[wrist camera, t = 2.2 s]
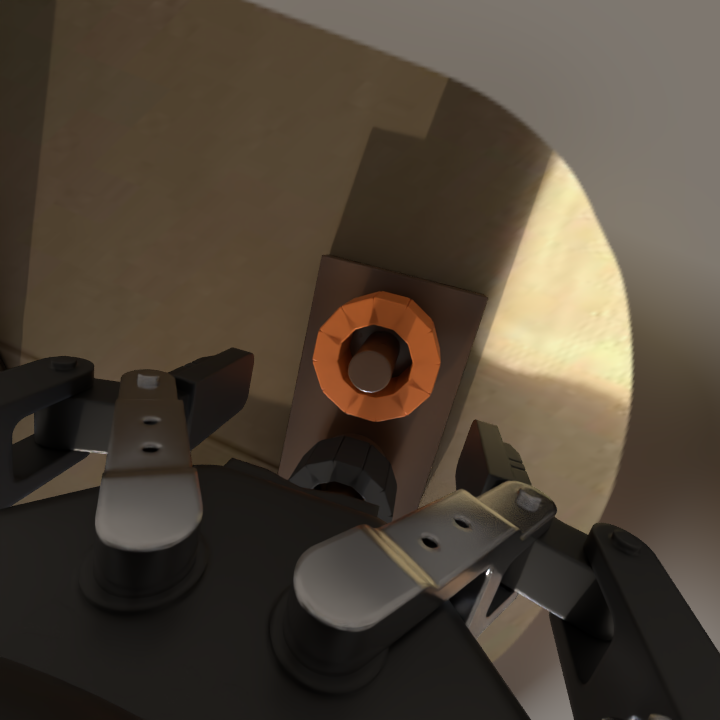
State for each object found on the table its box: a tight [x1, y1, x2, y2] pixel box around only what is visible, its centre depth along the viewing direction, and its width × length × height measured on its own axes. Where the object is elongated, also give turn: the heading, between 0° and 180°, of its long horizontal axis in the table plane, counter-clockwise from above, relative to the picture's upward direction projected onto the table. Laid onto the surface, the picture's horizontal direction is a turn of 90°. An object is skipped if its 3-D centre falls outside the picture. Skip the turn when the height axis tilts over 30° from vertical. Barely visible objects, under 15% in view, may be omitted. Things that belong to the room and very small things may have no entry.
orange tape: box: [313, 291, 441, 422], centre depth 21 cm, size 6×6×3 cm
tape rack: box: [278, 255, 488, 522], centre depth 23 cm, size 10×17×8 cm, turn 167°
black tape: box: [288, 436, 397, 523], centre depth 24 cm, size 6×6×3 cm
